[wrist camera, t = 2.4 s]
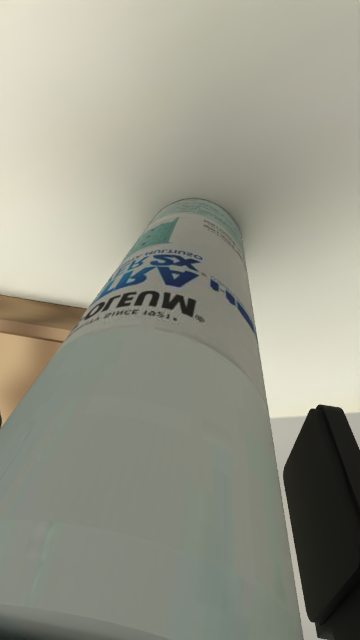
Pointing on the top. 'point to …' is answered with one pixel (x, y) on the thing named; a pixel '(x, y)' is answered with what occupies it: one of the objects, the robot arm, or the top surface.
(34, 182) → the top surface
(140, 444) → the pale blue bottle
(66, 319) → the square brown tray
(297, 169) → the top surface
